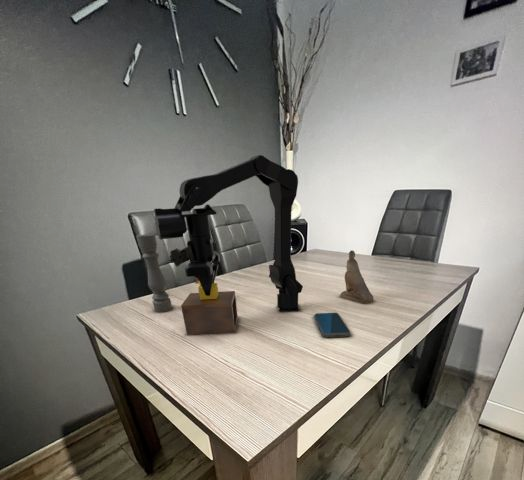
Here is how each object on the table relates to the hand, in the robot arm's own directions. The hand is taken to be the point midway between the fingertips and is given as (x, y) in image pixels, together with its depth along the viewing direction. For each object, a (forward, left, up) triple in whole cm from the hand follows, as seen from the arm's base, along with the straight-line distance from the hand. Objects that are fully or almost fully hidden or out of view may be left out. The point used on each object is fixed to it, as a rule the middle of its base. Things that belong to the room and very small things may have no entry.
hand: (209, 293), depth 79 cm
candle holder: (+21, -17, -10) cm, 29 cm away
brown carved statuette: (-49, -18, -10) cm, 53 cm away
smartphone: (-35, +4, -10) cm, 37 cm away
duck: (0, 0, -1) cm, 1 cm away
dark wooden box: (0, 0, -10) cm, 10 cm away
